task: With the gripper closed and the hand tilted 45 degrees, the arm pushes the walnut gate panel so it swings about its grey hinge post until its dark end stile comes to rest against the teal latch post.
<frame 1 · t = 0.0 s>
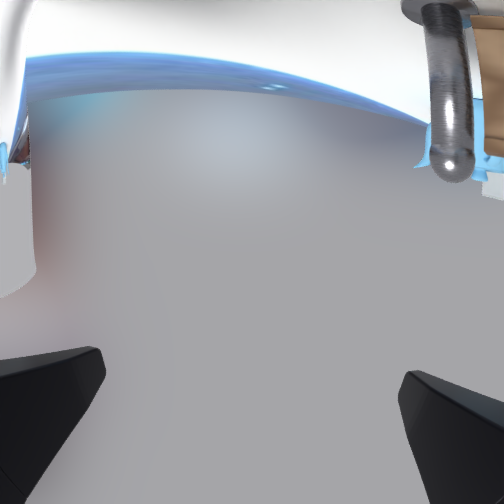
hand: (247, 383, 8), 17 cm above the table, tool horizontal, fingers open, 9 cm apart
teapot: (478, 108, 30), on the table
hinge post: (439, 7, 11), on the table
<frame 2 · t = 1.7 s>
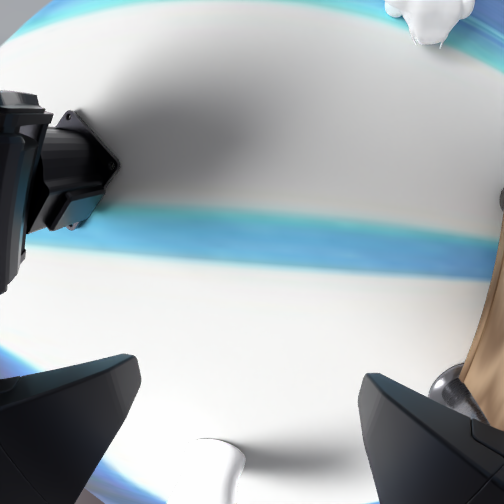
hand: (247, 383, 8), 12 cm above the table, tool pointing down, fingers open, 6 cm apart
beer glass: (215, 454, 26), on the table
elephant figurine: (401, 8, 14), on the table
hinge post: (452, 386, 21), on the table
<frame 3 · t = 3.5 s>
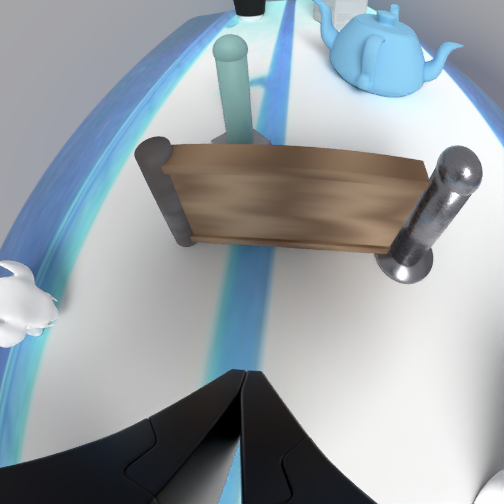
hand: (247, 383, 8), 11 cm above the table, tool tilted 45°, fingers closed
gate: (281, 202, 18), point 5 cm above the table, hinge at 0.0°
teapot: (376, 75, 35), on the table
dixie cup: (250, 18, 47), on the table
beer glass: (495, 500, 11), on the table
supplement box: (338, 24, 45), on the table
elephant figurine: (38, 320, 21), on the table
hinge post: (403, 253, 22), on the table
latch post: (240, 143, 28), on the table
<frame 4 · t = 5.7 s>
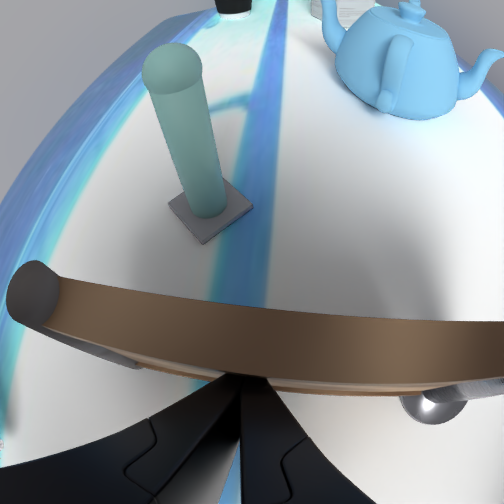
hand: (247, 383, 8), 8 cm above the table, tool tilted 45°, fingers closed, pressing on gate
gate: (260, 362, 10), point 5 cm above the table, hinge at 3.6°, touching gripper
teapot: (394, 87, 27), on the table
dixie cup: (235, 16, 39), on the table
supplement box: (341, 21, 37), on the table
hinge post: (436, 381, 14), on the table
latch post: (209, 206, 20), on the table
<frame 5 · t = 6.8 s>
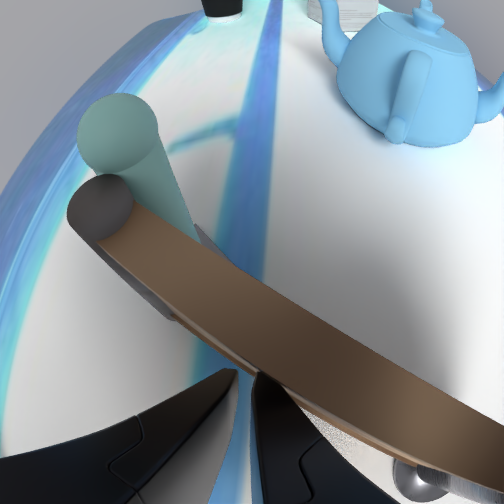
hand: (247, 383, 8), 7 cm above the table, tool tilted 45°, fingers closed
gate: (294, 371, 10), point 5 cm above the table, hinge at 31.5°, touching gripper, latch post
teapot: (403, 105, 24), on the table
dixie cup: (224, 19, 36), on the table
supplement box: (340, 24, 34), on the table
hinge post: (433, 460, 11), on the table
latch post: (189, 270, 17), on the table
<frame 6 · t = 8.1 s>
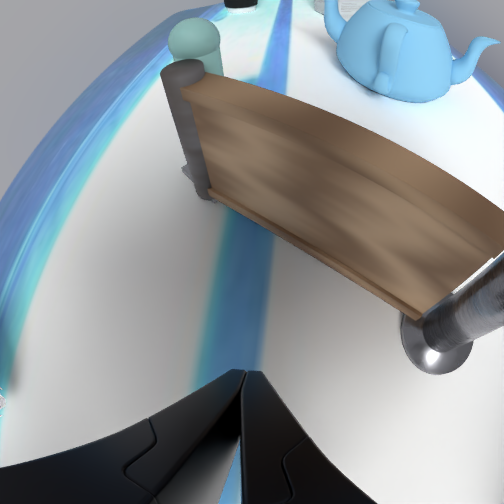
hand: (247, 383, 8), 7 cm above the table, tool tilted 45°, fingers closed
gate: (308, 189, 13), point 5 cm above the table, hinge at 31.5°, touching latch post
teapot: (392, 74, 28), on the table
dixie cup: (241, 10, 40), on the table
supplement box: (343, 16, 38), on the table
hinge post: (438, 332, 15), on the table
latch post: (220, 171, 21), on the table
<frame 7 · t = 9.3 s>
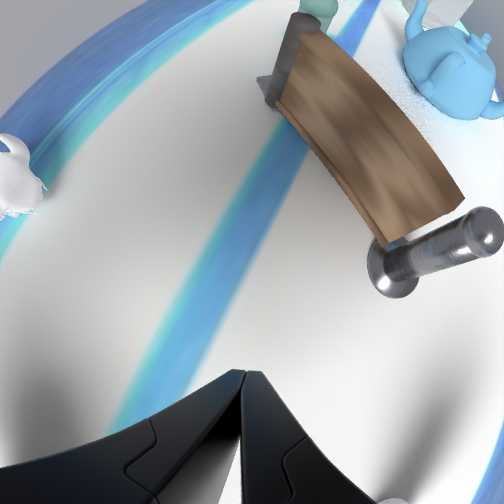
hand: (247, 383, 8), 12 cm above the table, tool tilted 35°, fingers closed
gate: (350, 129, 19), point 5 cm above the table, hinge at 31.5°, touching latch post
teapot: (439, 85, 31), on the table
supplement box: (423, 20, 37), on the table
elephant figurine: (20, 200, 19), on the table
hinge post: (393, 266, 23), on the table
latch post: (284, 92, 25), on the table
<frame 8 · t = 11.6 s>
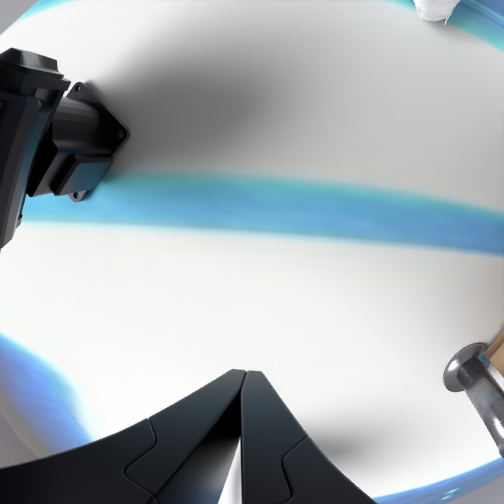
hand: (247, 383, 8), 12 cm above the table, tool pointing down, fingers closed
beer glass: (222, 444, 25), on the table
hinge post: (466, 367, 20), on the table
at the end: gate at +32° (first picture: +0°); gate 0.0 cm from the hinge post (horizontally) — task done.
